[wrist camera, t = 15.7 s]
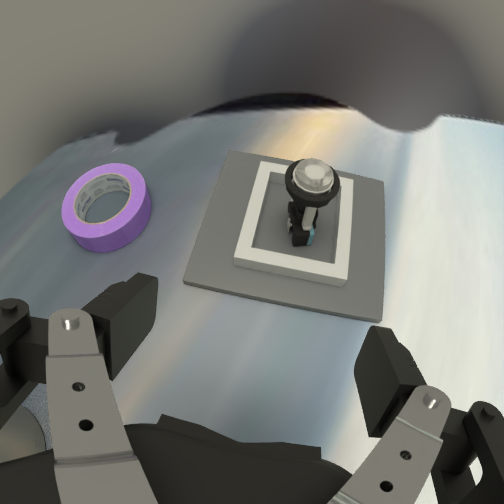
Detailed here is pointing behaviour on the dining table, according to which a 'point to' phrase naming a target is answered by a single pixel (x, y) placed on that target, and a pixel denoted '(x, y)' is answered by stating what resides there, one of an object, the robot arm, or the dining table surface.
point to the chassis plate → (280, 242)
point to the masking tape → (118, 227)
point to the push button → (308, 196)
